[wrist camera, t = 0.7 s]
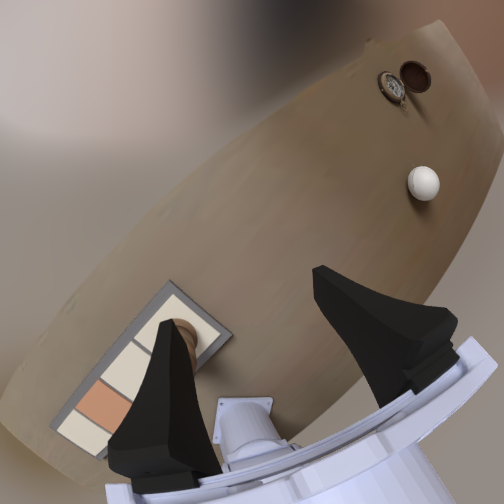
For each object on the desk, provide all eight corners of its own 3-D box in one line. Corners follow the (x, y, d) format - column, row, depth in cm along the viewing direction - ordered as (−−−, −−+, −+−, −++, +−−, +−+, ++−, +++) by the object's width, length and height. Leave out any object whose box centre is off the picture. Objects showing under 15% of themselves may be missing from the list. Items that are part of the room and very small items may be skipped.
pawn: (195, 356, 31) (202, 398, 23) (156, 352, 30) (151, 394, 21) (199, 320, 31) (207, 355, 22) (158, 315, 30) (152, 349, 21)
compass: (370, 76, 36) (397, 59, 28) (394, 69, 37) (420, 55, 30) (394, 117, 37) (424, 105, 30) (415, 106, 39) (443, 96, 32)
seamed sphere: (425, 189, 40) (449, 188, 35) (410, 207, 40) (435, 207, 34) (406, 151, 38) (430, 146, 33) (389, 168, 38) (415, 163, 32)
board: (100, 456, 30) (99, 461, 29) (50, 423, 28) (48, 427, 26) (230, 331, 34) (232, 335, 32) (169, 279, 31) (169, 281, 30)
